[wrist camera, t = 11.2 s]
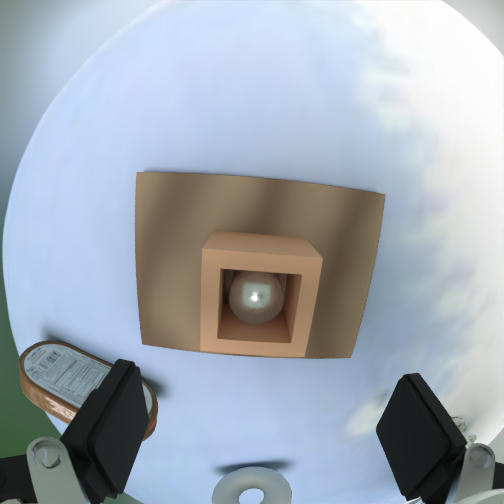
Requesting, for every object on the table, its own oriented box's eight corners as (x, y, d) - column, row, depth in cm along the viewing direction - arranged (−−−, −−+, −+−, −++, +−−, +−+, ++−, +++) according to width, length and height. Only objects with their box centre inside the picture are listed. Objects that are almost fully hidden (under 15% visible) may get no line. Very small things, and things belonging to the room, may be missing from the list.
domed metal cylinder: (279, 257, 20) (286, 276, 16) (274, 298, 21) (280, 325, 17) (234, 253, 20) (230, 272, 16) (231, 295, 21) (227, 322, 17)
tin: (46, 347, 24) (6, 388, 16) (44, 325, 24) (0, 366, 15) (164, 401, 26) (144, 461, 18) (169, 381, 25) (147, 445, 17)
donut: (219, 476, 30) (214, 533, 20) (211, 465, 29) (204, 526, 19) (290, 468, 29) (297, 527, 20) (286, 456, 29) (293, 520, 19)
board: (377, 192, 20) (385, 194, 19) (345, 348, 24) (350, 357, 23) (143, 172, 20) (136, 172, 18) (147, 335, 23) (142, 344, 22)
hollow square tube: (305, 238, 20) (323, 257, 15) (293, 319, 21) (304, 356, 17) (213, 230, 20) (202, 248, 15) (210, 313, 21) (200, 350, 16)
